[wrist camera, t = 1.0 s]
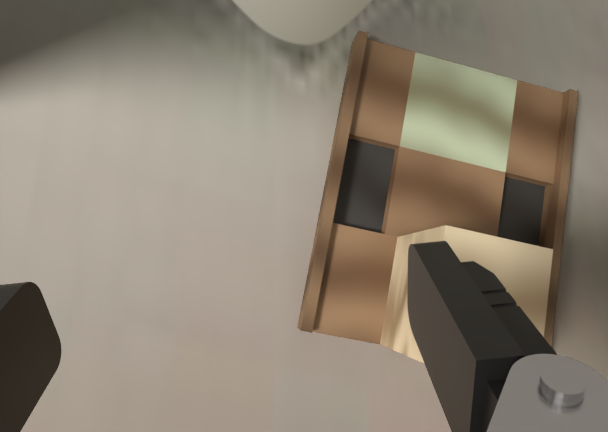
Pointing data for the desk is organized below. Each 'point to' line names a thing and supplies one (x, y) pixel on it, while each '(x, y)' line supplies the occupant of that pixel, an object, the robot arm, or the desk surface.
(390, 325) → the block
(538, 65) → the desk surface
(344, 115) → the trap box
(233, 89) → the desk surface
